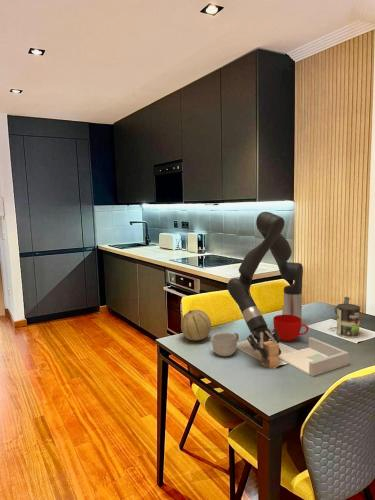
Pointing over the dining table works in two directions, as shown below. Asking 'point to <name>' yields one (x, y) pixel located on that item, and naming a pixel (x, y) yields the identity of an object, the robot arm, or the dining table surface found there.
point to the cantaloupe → (196, 325)
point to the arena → (317, 358)
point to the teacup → (225, 343)
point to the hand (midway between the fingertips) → (272, 356)
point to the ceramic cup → (288, 327)
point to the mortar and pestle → (346, 301)
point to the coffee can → (348, 320)
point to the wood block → (271, 354)
